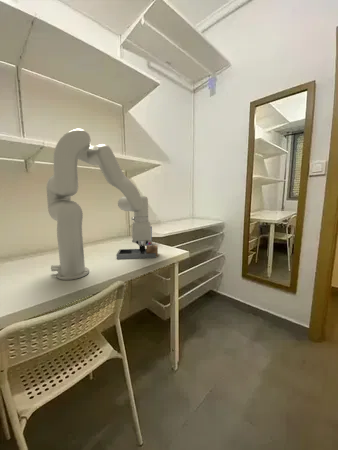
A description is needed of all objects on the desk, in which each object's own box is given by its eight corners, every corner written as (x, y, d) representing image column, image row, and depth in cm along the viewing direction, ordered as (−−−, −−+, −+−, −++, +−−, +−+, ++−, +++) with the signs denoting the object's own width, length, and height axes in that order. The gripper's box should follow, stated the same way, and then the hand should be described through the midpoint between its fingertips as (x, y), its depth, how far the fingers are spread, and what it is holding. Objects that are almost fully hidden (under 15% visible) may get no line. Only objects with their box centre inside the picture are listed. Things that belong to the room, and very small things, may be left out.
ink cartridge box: (152, 244, 141) (152, 222, 138) (146, 245, 136) (146, 223, 134) (142, 242, 147) (141, 221, 144) (136, 243, 142) (135, 222, 140)
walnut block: (146, 256, 114) (146, 247, 113) (146, 254, 118) (146, 245, 118) (157, 256, 114) (157, 247, 113) (157, 253, 119) (157, 245, 118)
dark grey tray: (116, 259, 110) (116, 254, 110) (119, 253, 120) (119, 249, 120) (155, 257, 111) (155, 253, 111) (155, 252, 121) (155, 248, 121)
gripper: (126, 220, 108) (127, 255, 111) (155, 220, 110) (156, 254, 113) (128, 218, 116) (129, 251, 119) (155, 218, 117) (155, 250, 120)
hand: (142, 252), depth 116 cm, fingers closed
